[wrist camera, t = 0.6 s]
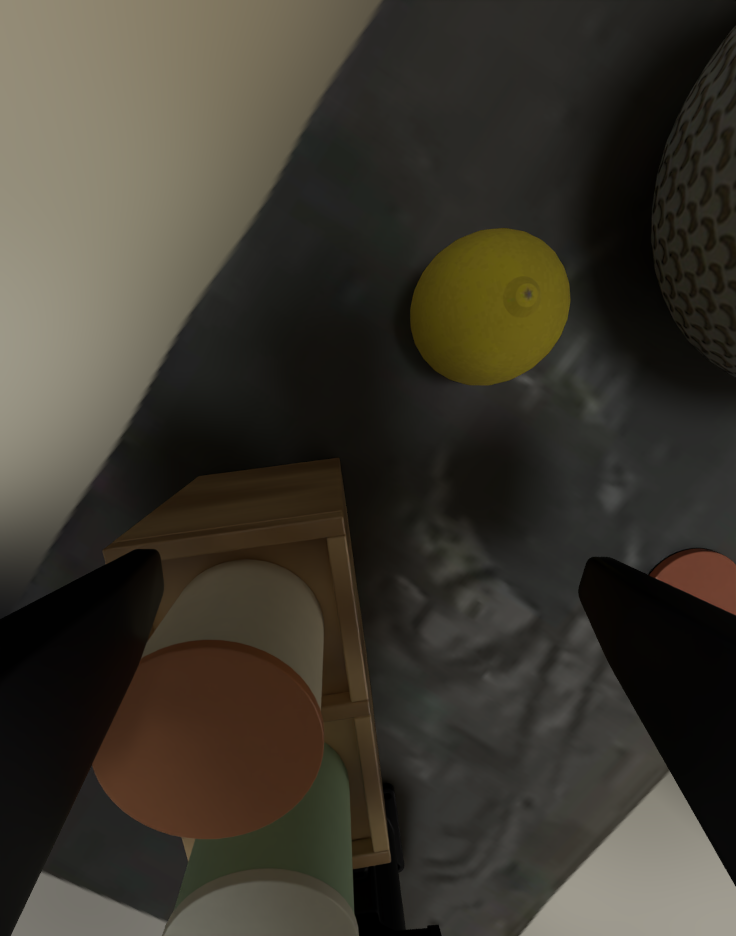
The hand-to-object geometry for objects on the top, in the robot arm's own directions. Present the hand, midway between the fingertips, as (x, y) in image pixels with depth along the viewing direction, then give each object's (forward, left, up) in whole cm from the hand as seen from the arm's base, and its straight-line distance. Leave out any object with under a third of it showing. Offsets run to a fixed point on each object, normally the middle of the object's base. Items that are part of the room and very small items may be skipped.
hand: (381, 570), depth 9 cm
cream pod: (-3, +4, -4) cm, 7 cm away
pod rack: (-7, +4, -13) cm, 15 cm away
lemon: (+6, -6, -13) cm, 15 cm away
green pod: (-10, +4, -4) cm, 12 cm away
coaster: (-11, -18, -13) cm, 25 cm away
